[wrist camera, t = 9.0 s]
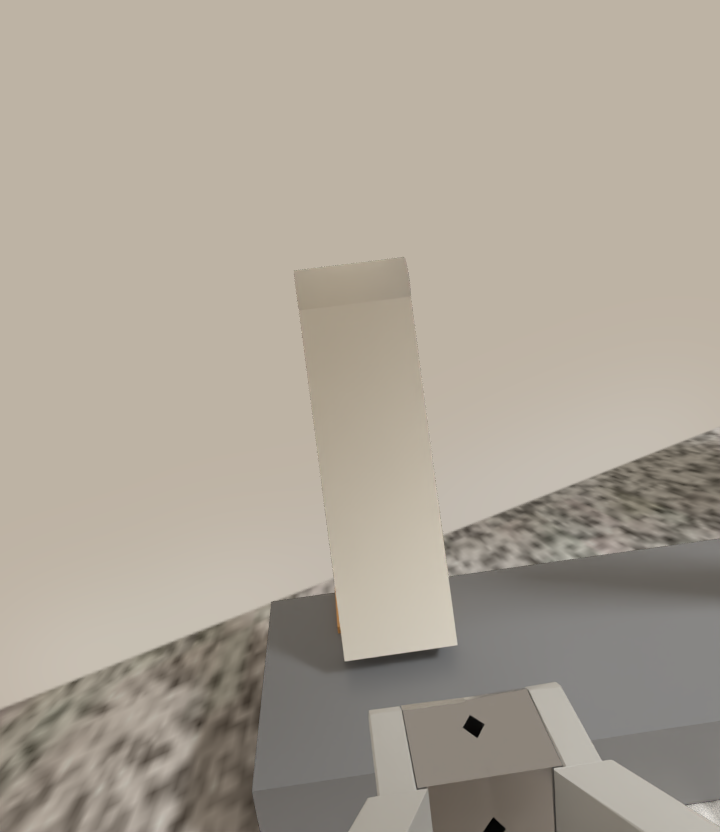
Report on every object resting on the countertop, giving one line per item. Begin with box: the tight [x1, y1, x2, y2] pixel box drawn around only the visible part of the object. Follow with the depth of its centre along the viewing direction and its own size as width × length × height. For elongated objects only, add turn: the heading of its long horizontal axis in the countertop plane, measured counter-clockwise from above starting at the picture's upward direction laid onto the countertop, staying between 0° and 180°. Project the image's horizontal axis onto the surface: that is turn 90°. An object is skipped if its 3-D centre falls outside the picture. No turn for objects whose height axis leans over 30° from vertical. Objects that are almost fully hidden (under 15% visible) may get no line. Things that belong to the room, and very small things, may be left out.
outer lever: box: [294, 257, 458, 661], centre depth 24 cm, size 4×2×14 cm, turn 94°
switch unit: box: [252, 539, 720, 832], centre depth 25 cm, size 28×10×3 cm, turn 94°
